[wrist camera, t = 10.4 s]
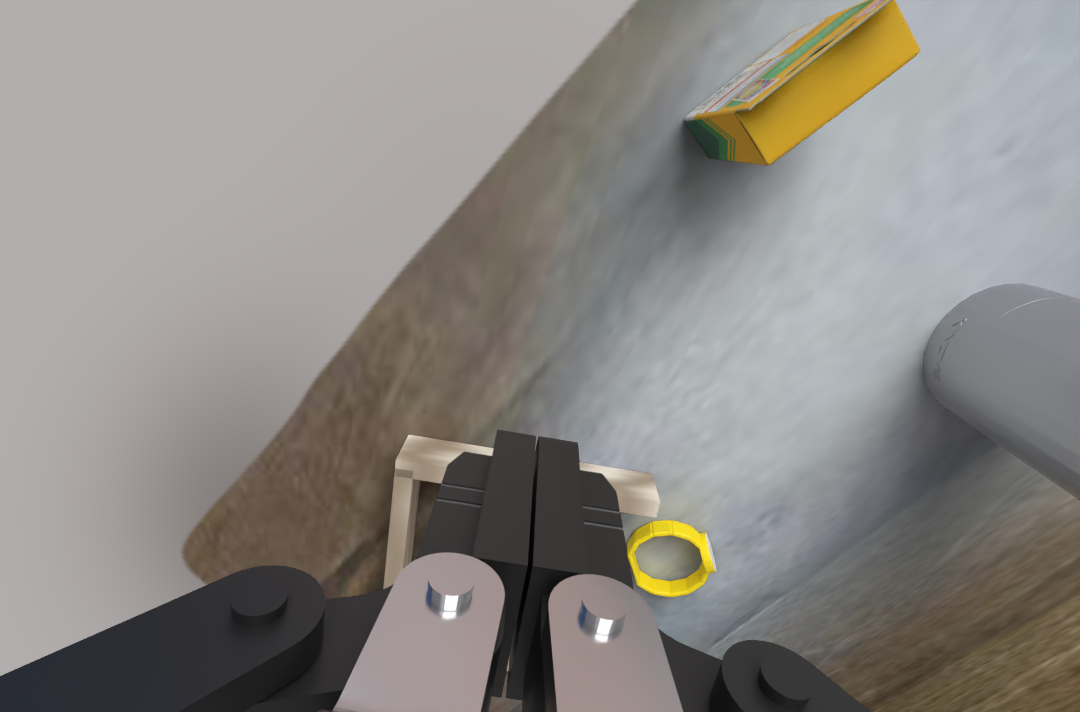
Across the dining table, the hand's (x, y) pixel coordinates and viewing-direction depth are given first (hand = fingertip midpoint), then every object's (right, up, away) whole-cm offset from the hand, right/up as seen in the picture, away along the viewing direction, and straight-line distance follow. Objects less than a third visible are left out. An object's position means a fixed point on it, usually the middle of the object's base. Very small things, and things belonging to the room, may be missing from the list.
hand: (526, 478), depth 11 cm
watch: (+7, -13, +33) cm, 36 cm away
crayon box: (+12, +17, +22) cm, 31 cm away
